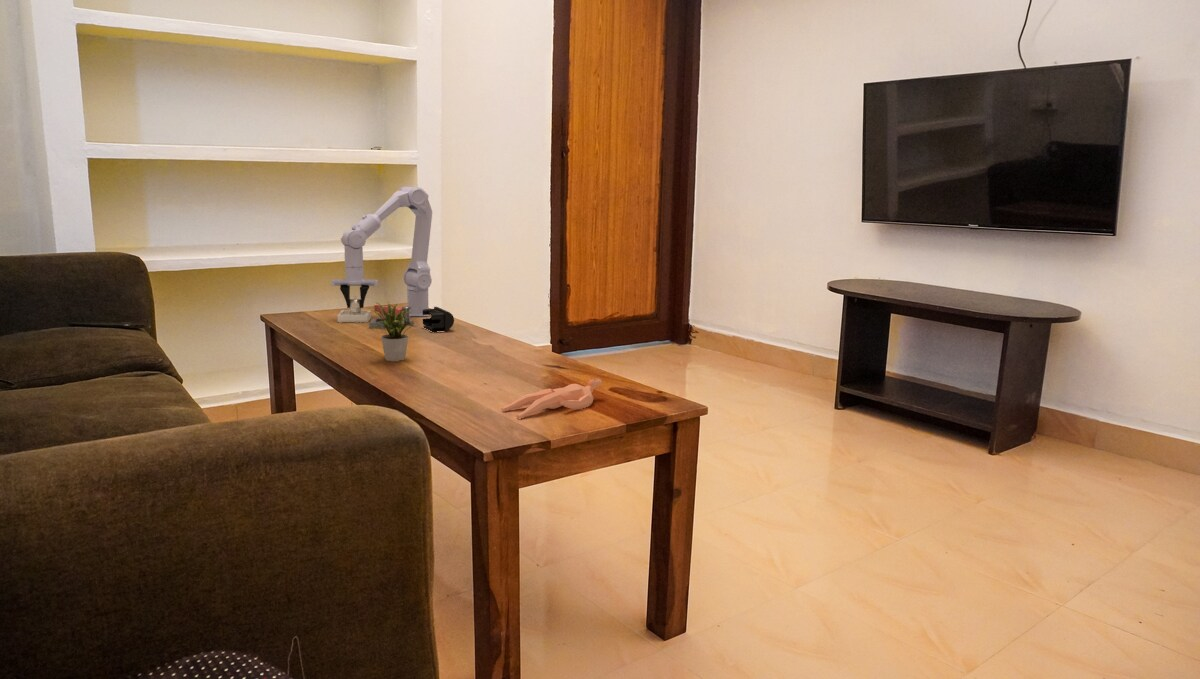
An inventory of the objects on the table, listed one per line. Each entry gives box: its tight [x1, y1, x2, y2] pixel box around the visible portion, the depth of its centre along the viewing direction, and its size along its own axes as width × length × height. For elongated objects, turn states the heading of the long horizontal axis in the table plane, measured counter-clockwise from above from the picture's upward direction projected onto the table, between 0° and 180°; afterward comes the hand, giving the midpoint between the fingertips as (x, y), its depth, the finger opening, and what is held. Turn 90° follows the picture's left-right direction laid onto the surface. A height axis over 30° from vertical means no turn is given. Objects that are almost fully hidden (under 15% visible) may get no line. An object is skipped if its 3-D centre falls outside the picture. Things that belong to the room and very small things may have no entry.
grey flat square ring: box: [368, 317, 387, 329], centre depth 255 cm, size 8×8×2 cm
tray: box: [336, 309, 372, 324], centre depth 263 cm, size 9×9×2 cm
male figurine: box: [501, 377, 603, 419], centre depth 174 cm, size 11×5×25 cm
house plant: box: [369, 301, 419, 362], centre depth 210 cm, size 14×14×16 cm
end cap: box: [422, 306, 455, 333], centre depth 252 cm, size 10×7×7 cm
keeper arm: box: [373, 304, 404, 316], centre depth 262 cm, size 13×3×2 cm, turn 59°
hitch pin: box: [349, 295, 362, 315], centre depth 261 cm, size 4×4×7 cm
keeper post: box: [401, 305, 414, 326], centre depth 258 cm, size 4×4×6 cm
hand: (355, 307), depth 261 cm, fingers closed on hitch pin, 4 cm apart
